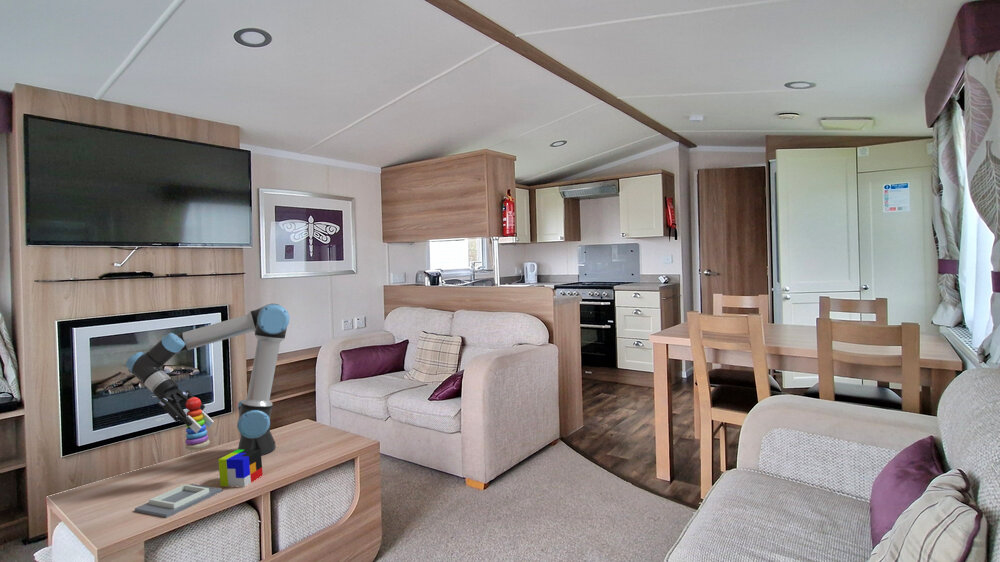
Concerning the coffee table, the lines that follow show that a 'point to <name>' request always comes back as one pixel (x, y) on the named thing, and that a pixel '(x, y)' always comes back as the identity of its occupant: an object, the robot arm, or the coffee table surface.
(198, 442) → the stacking toy
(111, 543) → the coffee table surface
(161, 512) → the board
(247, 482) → the puzzle toy
